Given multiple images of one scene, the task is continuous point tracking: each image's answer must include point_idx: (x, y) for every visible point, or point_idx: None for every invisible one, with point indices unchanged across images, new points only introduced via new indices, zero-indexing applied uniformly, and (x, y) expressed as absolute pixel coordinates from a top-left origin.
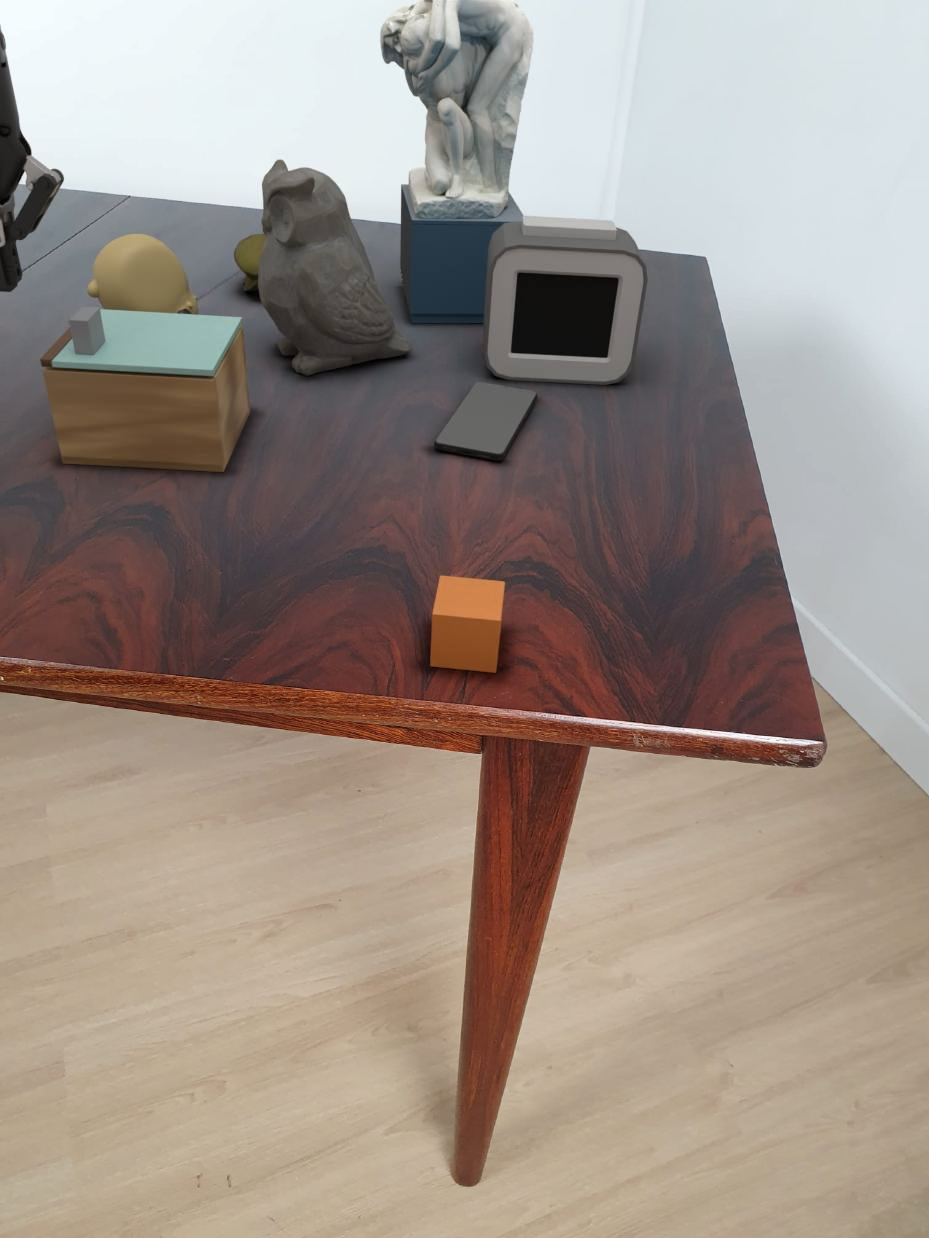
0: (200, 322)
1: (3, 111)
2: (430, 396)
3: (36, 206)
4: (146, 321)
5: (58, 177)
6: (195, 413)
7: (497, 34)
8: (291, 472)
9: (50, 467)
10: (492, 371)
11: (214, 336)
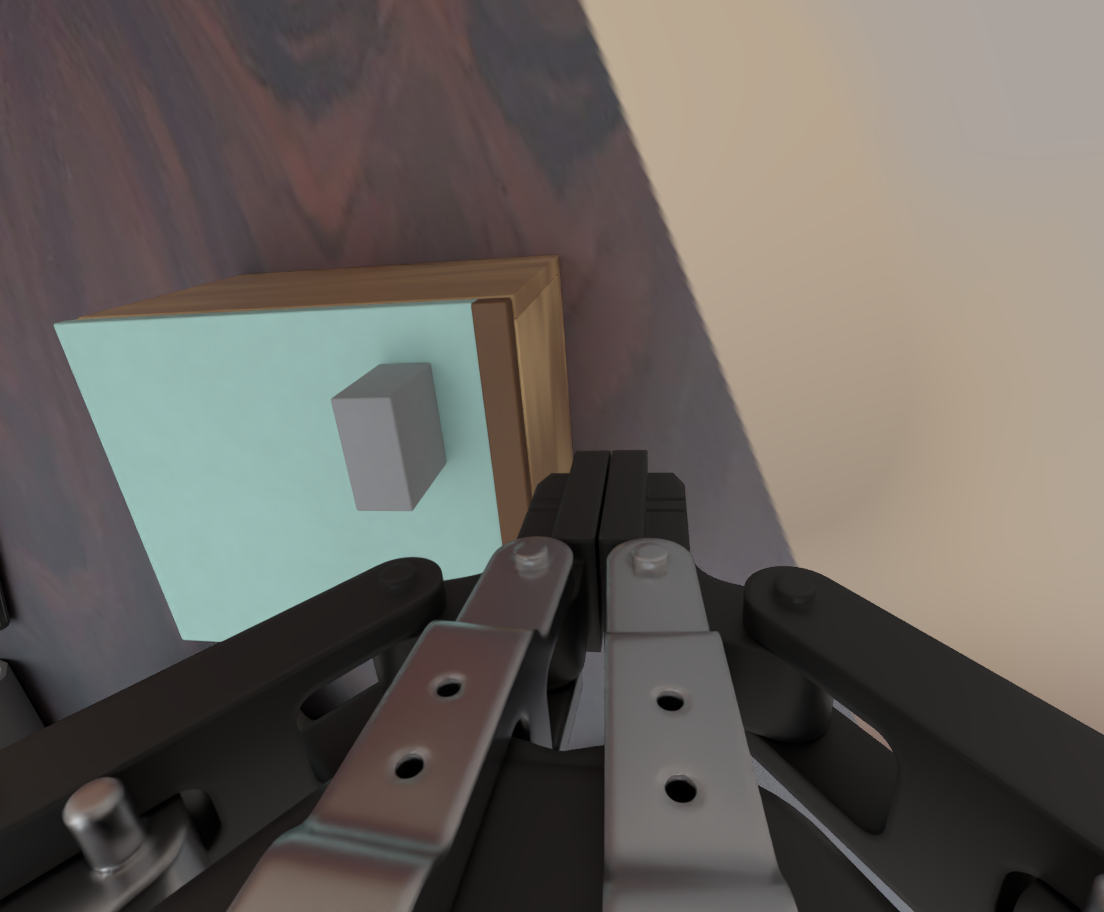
0: (246, 602)
1: None
2: (70, 599)
3: (172, 682)
4: None
5: None
6: (194, 295)
7: None
8: (132, 297)
9: (578, 234)
10: (4, 668)
11: (172, 528)
